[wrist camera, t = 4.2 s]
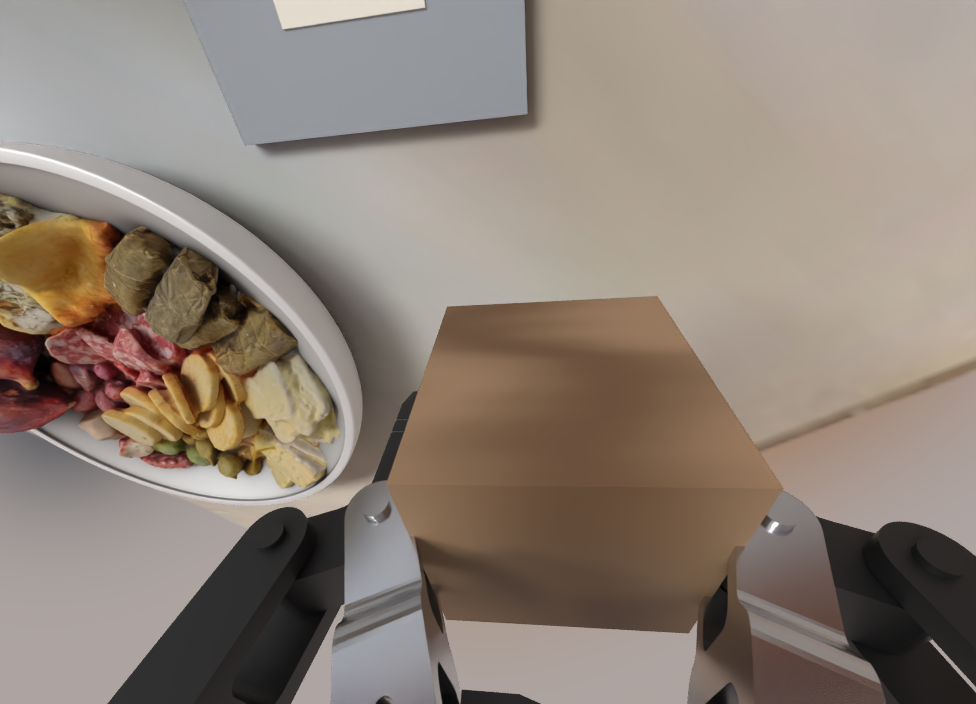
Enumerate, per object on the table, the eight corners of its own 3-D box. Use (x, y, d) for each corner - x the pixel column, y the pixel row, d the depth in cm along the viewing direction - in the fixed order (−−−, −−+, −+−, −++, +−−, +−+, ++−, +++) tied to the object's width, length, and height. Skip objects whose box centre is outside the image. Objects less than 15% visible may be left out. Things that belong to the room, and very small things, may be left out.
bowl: (253, 79, 18) (108, 71, 12) (421, 455, 35) (398, 535, 29) (-141, 184, 24) (-387, 218, 17) (170, 468, 40) (104, 538, 34)
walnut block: (471, 439, 13) (446, 619, 9) (447, 306, 10) (385, 484, 5) (629, 438, 12) (688, 633, 8) (657, 296, 9) (783, 489, 5)
